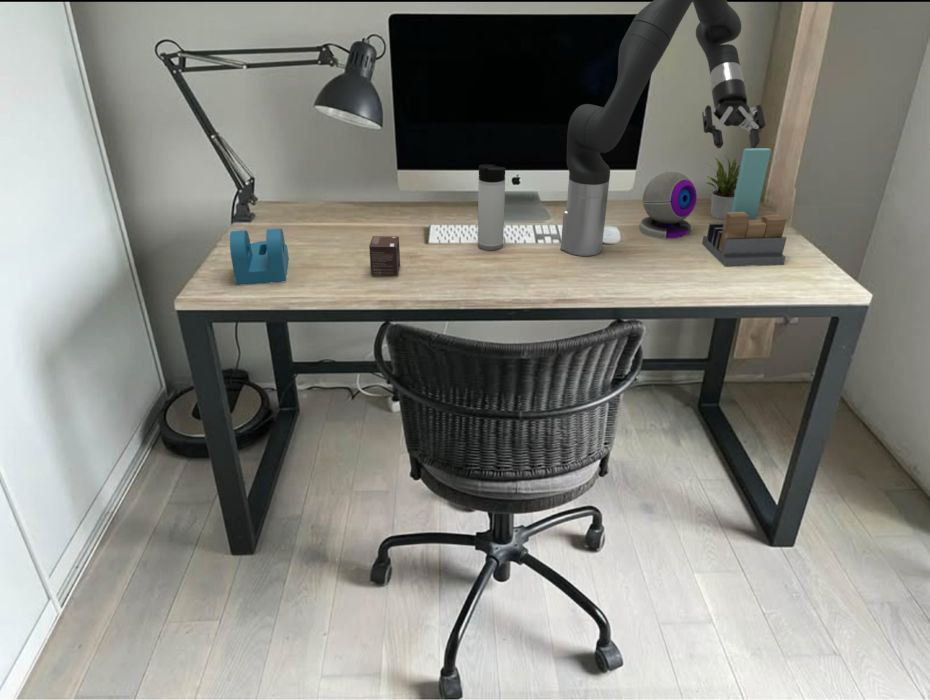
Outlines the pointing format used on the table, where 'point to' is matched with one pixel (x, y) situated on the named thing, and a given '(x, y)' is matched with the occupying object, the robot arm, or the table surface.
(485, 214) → the travel mug
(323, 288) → the table surface
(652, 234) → the webcam
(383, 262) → the box
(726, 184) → the house plant
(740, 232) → the offcut stack
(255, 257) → the camera mount
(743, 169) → the tall sheet
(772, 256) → the rack
